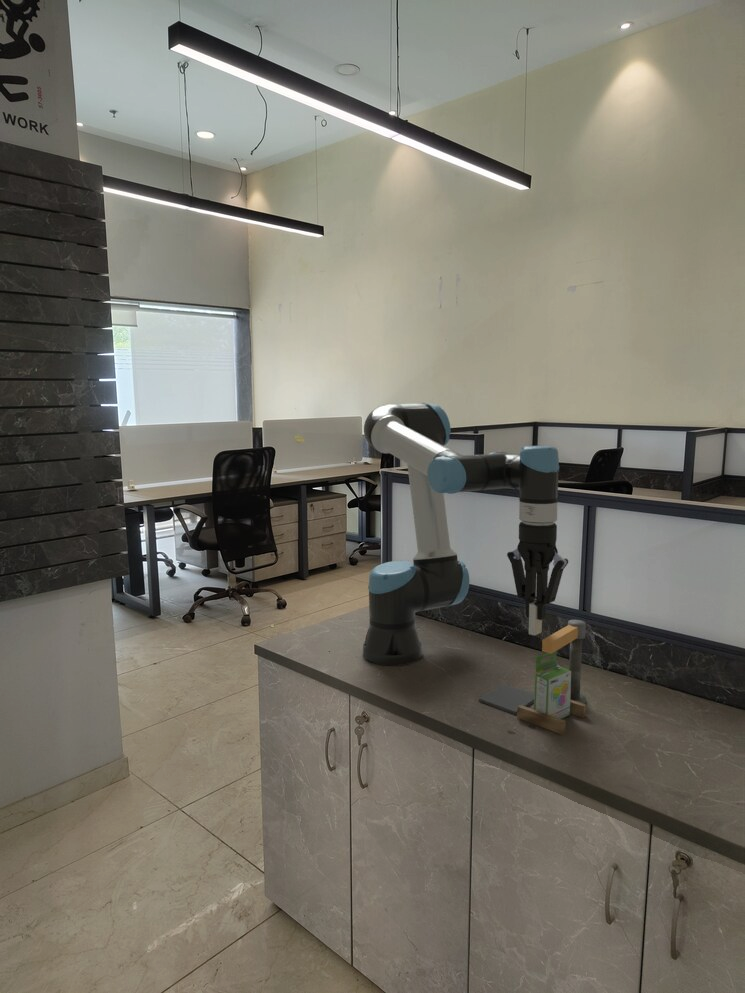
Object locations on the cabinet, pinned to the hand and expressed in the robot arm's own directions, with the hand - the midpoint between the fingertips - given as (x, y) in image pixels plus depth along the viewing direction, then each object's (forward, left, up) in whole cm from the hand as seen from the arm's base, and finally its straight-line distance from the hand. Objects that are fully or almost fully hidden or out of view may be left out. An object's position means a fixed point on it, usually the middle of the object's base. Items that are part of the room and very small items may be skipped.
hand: (535, 632), depth 134 cm
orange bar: (+5, +2, -2) cm, 6 cm away
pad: (-5, -1, -16) cm, 17 cm away
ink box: (+5, -2, -16) cm, 17 cm away
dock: (+5, +2, -16) cm, 17 cm away
